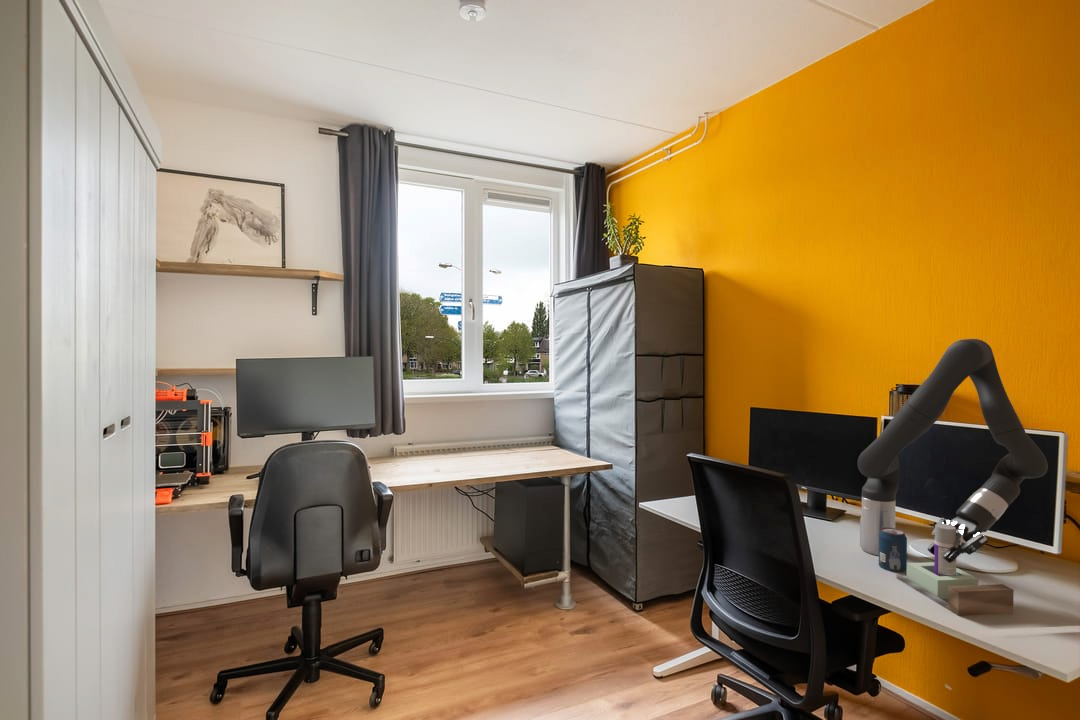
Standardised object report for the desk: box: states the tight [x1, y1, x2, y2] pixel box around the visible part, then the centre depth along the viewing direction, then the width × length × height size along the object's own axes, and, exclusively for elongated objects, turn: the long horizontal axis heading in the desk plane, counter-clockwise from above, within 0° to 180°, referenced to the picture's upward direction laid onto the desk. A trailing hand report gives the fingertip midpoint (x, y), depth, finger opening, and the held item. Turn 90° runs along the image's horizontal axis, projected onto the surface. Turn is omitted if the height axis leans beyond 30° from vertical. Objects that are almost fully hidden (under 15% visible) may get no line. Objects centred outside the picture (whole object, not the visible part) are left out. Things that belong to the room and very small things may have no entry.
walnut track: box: [895, 574, 1015, 617], centre depth 143 cm, size 23×14×7 cm, turn 3°
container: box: [933, 523, 957, 576], centre depth 146 cm, size 5×5×15 cm
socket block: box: [906, 561, 979, 600], centre depth 147 cm, size 11×11×5 cm
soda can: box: [878, 527, 908, 573], centre depth 161 cm, size 7×7×12 cm
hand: (938, 556), depth 146 cm, fingers closed on container, 4 cm apart
